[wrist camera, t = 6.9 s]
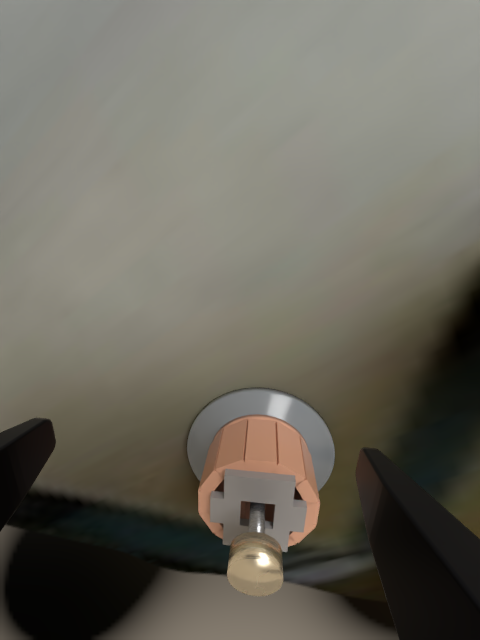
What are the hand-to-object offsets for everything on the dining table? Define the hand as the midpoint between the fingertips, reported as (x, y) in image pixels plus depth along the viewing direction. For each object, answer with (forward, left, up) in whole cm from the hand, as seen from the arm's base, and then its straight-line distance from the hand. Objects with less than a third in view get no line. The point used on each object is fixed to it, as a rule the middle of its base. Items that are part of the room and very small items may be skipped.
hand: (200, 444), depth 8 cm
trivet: (-12, -2, -13) cm, 18 cm away
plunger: (-12, -2, -12) cm, 17 cm away
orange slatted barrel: (-12, -2, -12) cm, 17 cm away
